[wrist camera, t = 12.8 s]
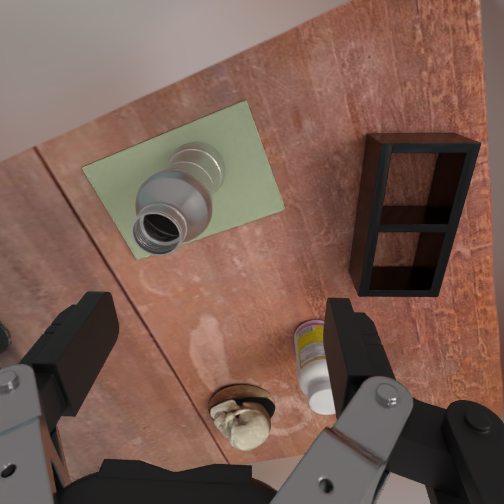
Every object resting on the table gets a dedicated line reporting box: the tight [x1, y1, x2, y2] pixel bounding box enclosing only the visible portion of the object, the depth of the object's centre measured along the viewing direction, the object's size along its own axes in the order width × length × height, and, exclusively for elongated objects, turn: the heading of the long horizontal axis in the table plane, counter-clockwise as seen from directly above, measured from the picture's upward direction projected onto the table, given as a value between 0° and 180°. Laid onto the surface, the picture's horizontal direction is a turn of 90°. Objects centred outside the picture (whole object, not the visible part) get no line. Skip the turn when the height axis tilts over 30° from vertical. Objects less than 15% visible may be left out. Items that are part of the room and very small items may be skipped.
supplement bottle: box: [294, 320, 336, 415], centre depth 50 cm, size 7×7×13 cm
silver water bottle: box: [131, 142, 226, 256], centre depth 34 cm, size 6×7×20 cm
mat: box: [82, 100, 285, 260], centre depth 45 cm, size 22×14×1 cm, turn 111°
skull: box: [208, 385, 275, 451], centre depth 63 cm, size 12×10×10 cm
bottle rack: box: [349, 133, 481, 297], centre depth 43 cm, size 19×10×6 cm, turn 1°
